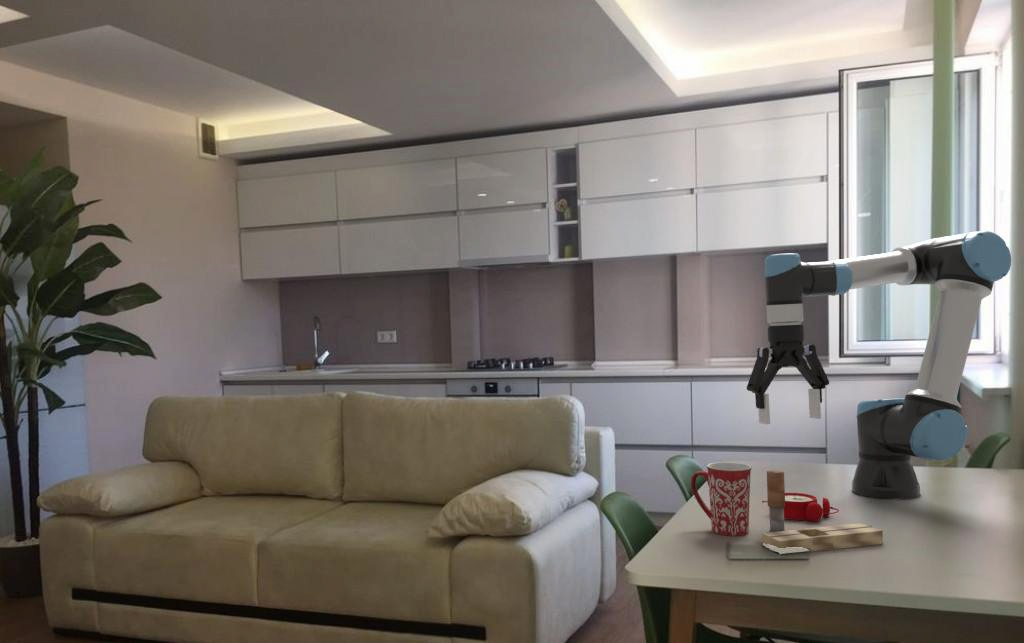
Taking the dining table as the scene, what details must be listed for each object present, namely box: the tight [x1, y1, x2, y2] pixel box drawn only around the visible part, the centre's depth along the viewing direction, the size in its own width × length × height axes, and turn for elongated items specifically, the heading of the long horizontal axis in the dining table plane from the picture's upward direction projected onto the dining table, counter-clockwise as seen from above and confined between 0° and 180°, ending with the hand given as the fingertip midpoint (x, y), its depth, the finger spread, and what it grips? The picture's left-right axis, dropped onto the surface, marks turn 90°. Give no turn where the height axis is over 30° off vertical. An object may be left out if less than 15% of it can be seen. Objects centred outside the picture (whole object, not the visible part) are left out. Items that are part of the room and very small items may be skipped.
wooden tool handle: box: [766, 469, 786, 532], centre depth 158 cm, size 3×3×12 cm
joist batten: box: [761, 522, 884, 553], centre depth 147 cm, size 22×6×3 cm, turn 104°
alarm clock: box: [761, 492, 840, 523], centre depth 170 cm, size 10×6×15 cm
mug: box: [690, 461, 752, 537], centre depth 160 cm, size 13×9×14 cm
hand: (790, 421), depth 170 cm, fingers open, 13 cm apart
